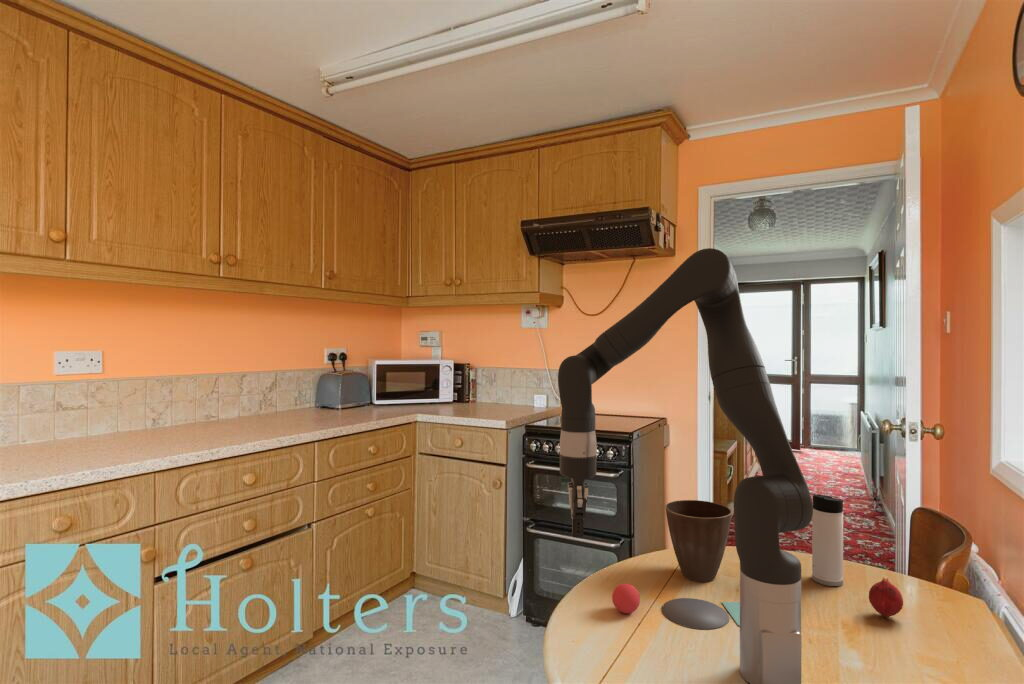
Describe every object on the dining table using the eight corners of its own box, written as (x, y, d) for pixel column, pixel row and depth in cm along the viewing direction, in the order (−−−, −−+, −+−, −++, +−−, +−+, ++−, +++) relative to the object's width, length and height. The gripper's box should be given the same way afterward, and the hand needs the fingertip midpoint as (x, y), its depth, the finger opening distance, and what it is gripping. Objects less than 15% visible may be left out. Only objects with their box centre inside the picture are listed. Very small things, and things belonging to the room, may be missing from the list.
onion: (908, 625, 111) (908, 584, 111) (876, 622, 112) (876, 582, 112) (895, 611, 117) (895, 573, 117) (864, 609, 118) (864, 570, 118)
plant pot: (663, 583, 130) (663, 514, 130) (667, 560, 144) (667, 497, 144) (733, 593, 125) (733, 520, 125) (730, 568, 139) (730, 502, 139)
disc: (738, 630, 109) (738, 629, 109) (670, 628, 110) (670, 627, 110) (717, 599, 122) (717, 598, 122) (656, 598, 123) (656, 597, 123)
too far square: (790, 627, 110) (790, 626, 110) (738, 626, 111) (738, 625, 111) (769, 603, 120) (769, 602, 120) (721, 602, 121) (721, 601, 121)
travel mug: (805, 578, 133) (805, 493, 133) (824, 574, 136) (824, 490, 136) (829, 589, 128) (830, 500, 127) (849, 584, 130) (849, 496, 130)
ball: (642, 618, 114) (642, 590, 114) (614, 618, 114) (614, 590, 114) (637, 605, 119) (637, 579, 119) (610, 605, 119) (610, 578, 119)
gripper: (600, 459, 110) (599, 548, 110) (593, 446, 123) (592, 525, 124) (561, 458, 111) (560, 547, 111) (558, 445, 124) (558, 525, 124)
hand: (577, 536), depth 117 cm, fingers closed
